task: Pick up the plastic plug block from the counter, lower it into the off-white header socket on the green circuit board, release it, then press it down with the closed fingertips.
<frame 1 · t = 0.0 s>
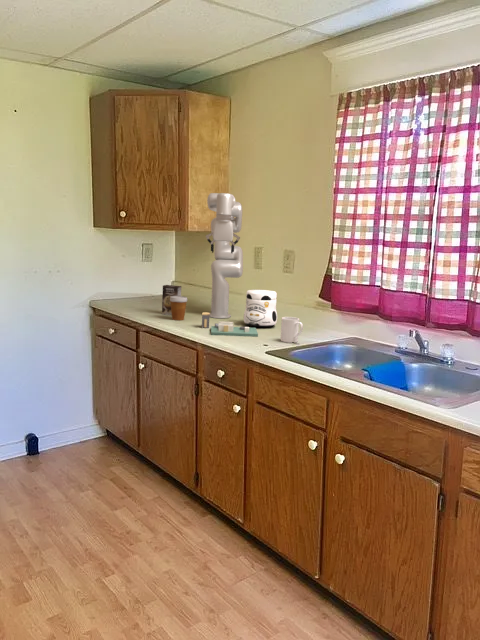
hand: (222, 252, 284), 37 cm above the table, tool pointing down, fingers open, 9 cm apart
board: (234, 332, 271), on the table
mug: (292, 342, 255), on the table
milk container: (260, 326, 291), on the table
plug: (205, 327, 281), on the table
coffee box: (171, 314, 315), on the table
disposable coffee cup: (178, 319, 299), on the table
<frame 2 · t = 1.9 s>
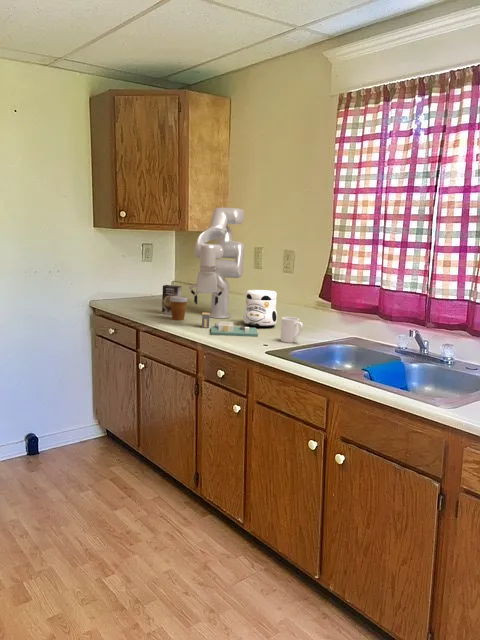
hand: (205, 304, 278), 12 cm above the table, tool pointing down, fingers open, 9 cm apart
nothing on the table moved.
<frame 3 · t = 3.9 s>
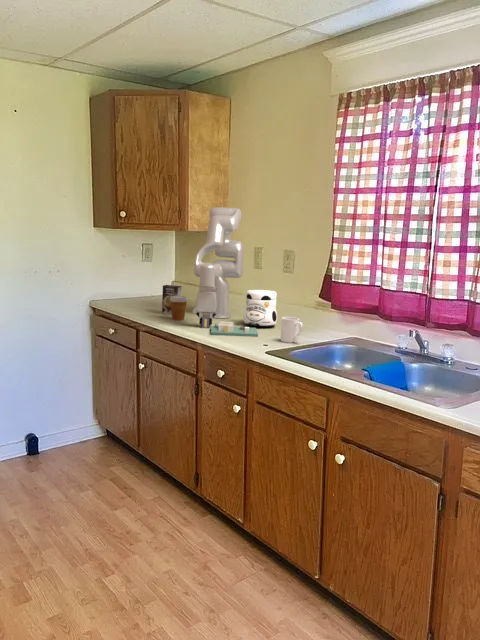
hand: (205, 325, 281), 1 cm above the table, tool pointing down, fingers closed on plug, 3 cm apart
plug: (205, 327, 281), on the table, touching gripper
everything else where it was.
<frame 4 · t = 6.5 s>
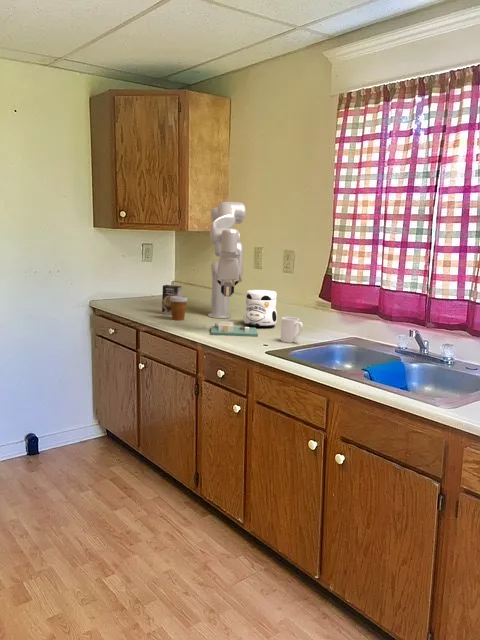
hand: (227, 294, 267), 18 cm above the table, tool pointing down, fingers closed on plug, 3 cm apart
plug: (227, 295, 267), point 18 cm above the table, touching gripper
everything else where it was.
when the fingers open (3 cm above the table, at t = 9.2 s): plug stays where it is, resting on board.
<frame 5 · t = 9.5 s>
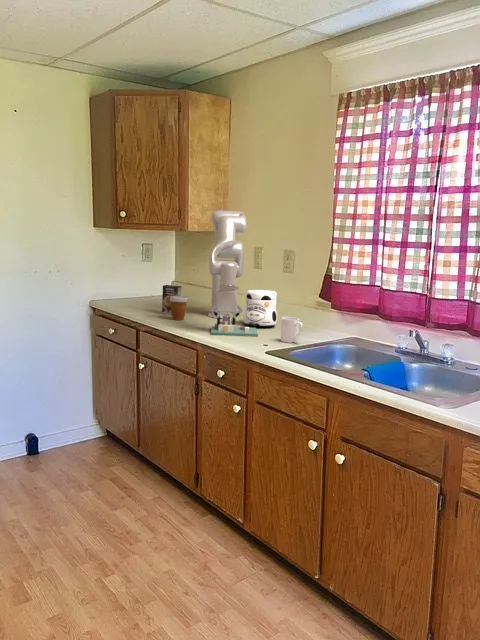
hand: (226, 325, 270), 3 cm above the table, tool pointing down, fingers open, 6 cm apart
plug: (225, 329, 271), point 1 cm above the table, touching board
everything else where it was.
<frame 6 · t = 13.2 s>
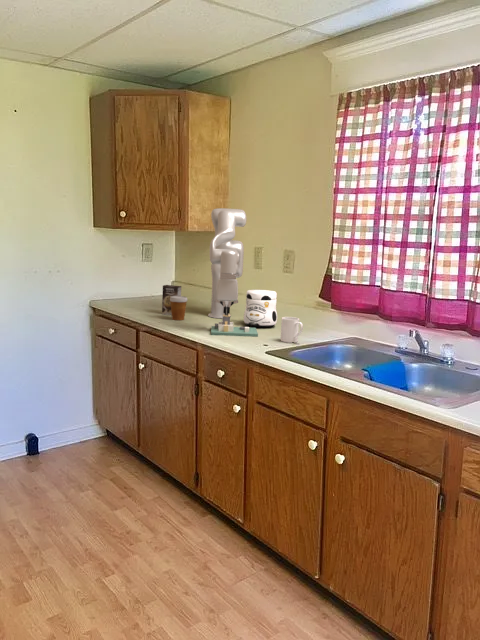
hand: (226, 314, 269), 8 cm above the table, tool pointing down, fingers closed
nothing on the table moved.
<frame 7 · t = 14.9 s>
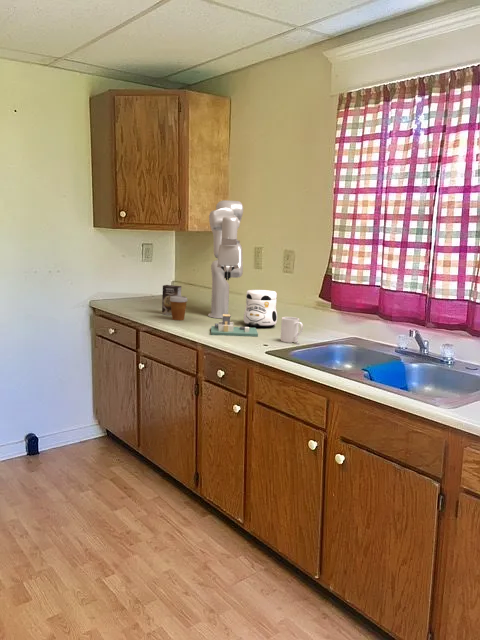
hand: (227, 279, 278), 24 cm above the table, tool pointing down, fingers closed
nothing on the table moved.
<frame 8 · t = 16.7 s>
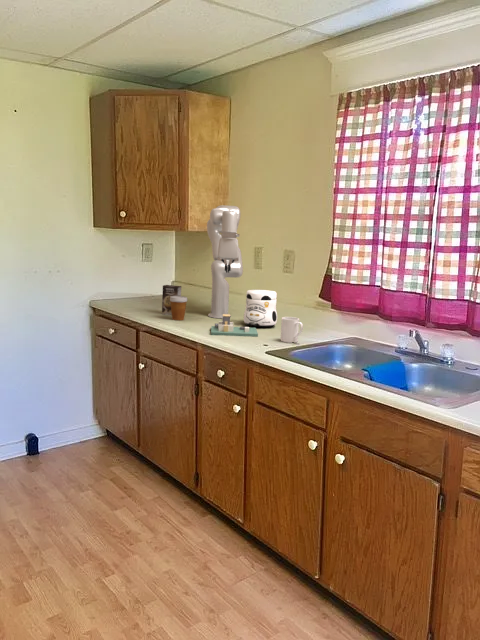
hand: (227, 272, 285), 27 cm above the table, tool pointing down, fingers closed
nothing on the table moved.
at the end: plug 0.0 cm from the target spot on the board, point 1.2 cm above the board's base; plug tilted 0°; the gripper is holding nothing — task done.
